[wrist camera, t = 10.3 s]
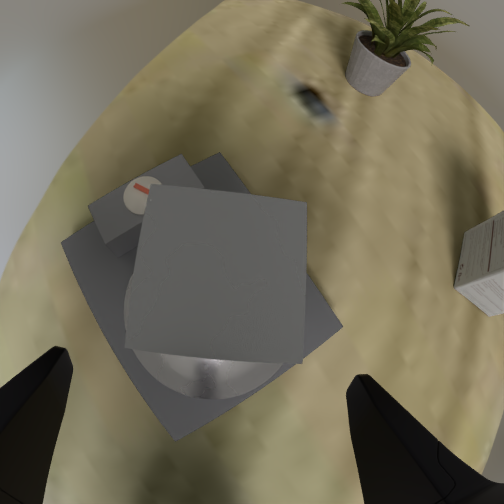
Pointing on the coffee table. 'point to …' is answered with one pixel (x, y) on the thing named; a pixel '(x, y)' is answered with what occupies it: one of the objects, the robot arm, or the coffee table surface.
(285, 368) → the scale base
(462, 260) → the supplement box
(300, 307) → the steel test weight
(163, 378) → the scale pan
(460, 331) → the coffee table surface
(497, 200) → the coffee table surface
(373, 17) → the house plant
